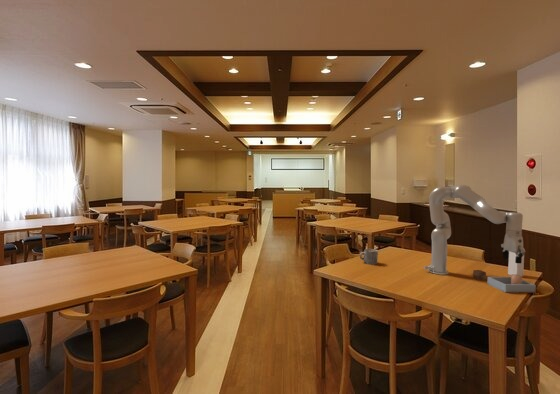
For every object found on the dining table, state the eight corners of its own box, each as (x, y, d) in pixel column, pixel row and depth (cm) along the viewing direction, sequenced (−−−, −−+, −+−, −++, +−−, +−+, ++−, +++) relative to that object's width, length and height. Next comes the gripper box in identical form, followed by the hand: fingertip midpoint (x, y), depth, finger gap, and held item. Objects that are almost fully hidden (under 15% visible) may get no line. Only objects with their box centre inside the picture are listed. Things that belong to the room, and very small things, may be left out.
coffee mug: (377, 261, 236) (377, 249, 235) (377, 265, 227) (377, 252, 226) (359, 260, 240) (360, 248, 240) (359, 263, 231) (359, 250, 230)
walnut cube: (478, 279, 195) (478, 272, 195) (472, 277, 200) (473, 270, 200) (485, 279, 195) (486, 272, 195) (480, 277, 200) (480, 270, 200)
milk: (516, 277, 201) (518, 244, 200) (507, 274, 207) (509, 242, 206) (523, 276, 203) (525, 244, 202) (514, 273, 209) (515, 242, 208)
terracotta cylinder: (523, 288, 178) (524, 276, 177) (514, 288, 178) (515, 276, 177) (516, 285, 182) (517, 274, 182) (508, 285, 183) (509, 274, 182)
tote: (505, 292, 172) (505, 284, 172) (487, 283, 187) (487, 276, 187) (535, 292, 173) (535, 285, 172) (515, 284, 187) (515, 277, 187)
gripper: (532, 235, 172) (530, 265, 173) (508, 230, 189) (506, 257, 190) (519, 235, 172) (517, 264, 173) (496, 230, 189) (495, 257, 190)
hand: (511, 260), depth 181 cm, fingers open, 9 cm apart
